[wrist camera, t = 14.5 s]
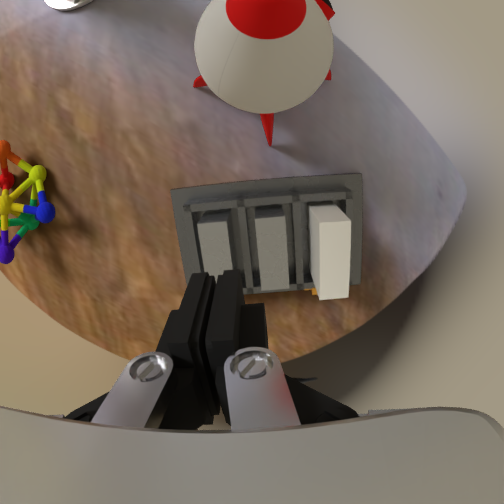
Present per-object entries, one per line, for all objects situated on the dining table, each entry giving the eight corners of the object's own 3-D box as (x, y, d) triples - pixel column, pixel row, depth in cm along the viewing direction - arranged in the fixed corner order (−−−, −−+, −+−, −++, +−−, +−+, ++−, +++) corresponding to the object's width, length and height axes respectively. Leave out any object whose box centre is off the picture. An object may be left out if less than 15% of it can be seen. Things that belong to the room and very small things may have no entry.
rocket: (331, 79, 32) (450, 9, 8) (270, 146, 35) (293, 181, 12) (254, 19, 29) (245, -126, 6) (193, 86, 32) (77, 24, 9)
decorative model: (17, 121, 30) (47, 227, 30) (47, 139, 38) (78, 230, 39) (-46, 175, 28) (-21, 276, 29) (-12, 184, 37) (14, 270, 38)
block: (307, 202, 36) (319, 222, 29) (332, 201, 36) (351, 220, 29) (308, 267, 39) (319, 300, 32) (332, 265, 39) (348, 297, 32)
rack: (171, 189, 37) (157, 199, 32) (360, 173, 36) (376, 181, 30) (190, 295, 42) (181, 318, 37) (359, 282, 41) (371, 303, 35)
